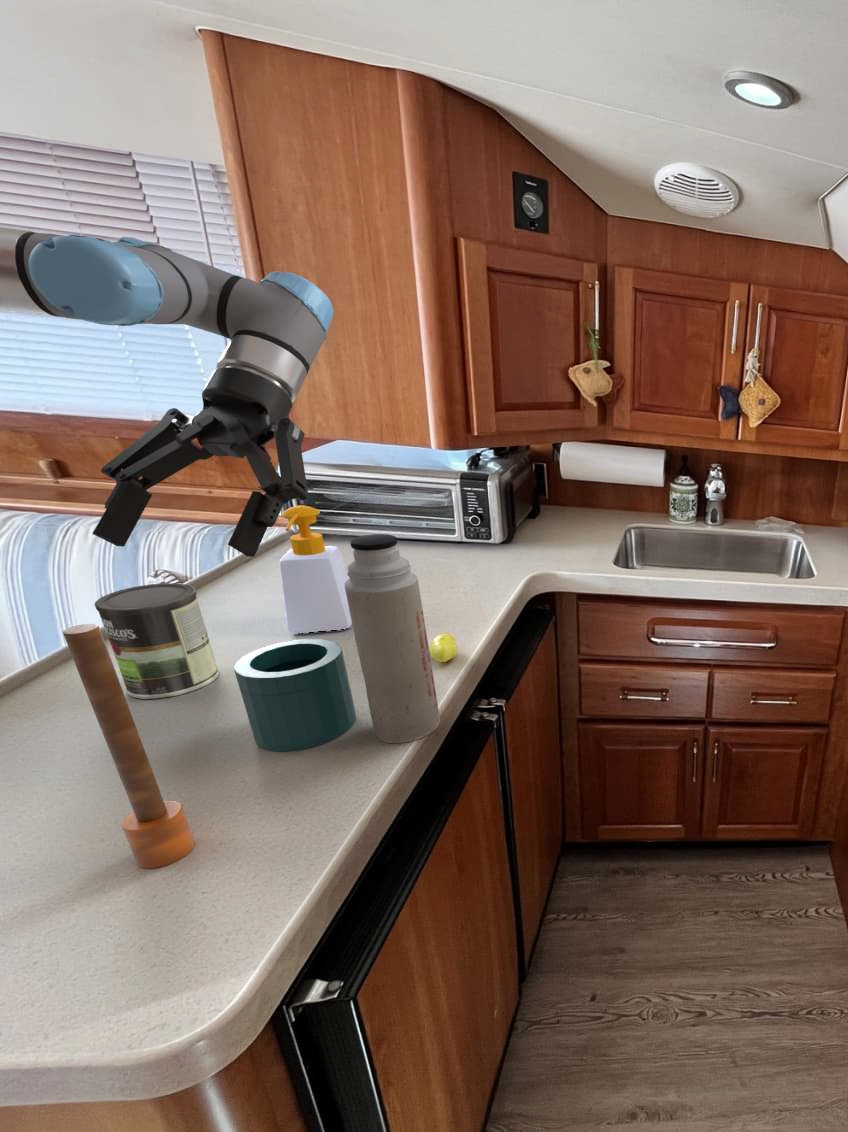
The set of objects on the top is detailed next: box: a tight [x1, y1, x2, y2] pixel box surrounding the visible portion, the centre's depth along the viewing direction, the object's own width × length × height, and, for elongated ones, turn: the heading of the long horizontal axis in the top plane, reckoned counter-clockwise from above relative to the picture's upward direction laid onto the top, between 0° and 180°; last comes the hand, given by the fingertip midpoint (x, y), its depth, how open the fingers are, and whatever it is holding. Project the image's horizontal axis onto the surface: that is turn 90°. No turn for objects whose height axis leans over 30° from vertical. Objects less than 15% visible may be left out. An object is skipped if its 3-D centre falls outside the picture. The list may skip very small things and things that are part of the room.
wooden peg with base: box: [62, 623, 196, 869], centre depth 62 cm, size 4×4×26 cm
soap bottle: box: [278, 505, 352, 635], centre depth 111 cm, size 10×14×22 cm
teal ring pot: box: [233, 638, 357, 752], centre depth 86 cm, size 11×11×11 cm
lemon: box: [429, 633, 459, 663], centre depth 108 cm, size 4×8×4 cm, turn 22°
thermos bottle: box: [345, 533, 441, 744], centre depth 84 cm, size 8×8×28 cm
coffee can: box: [94, 582, 220, 700], centre depth 93 cm, size 10×10×14 cm
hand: (174, 546), depth 66 cm, fingers open, 13 cm apart
